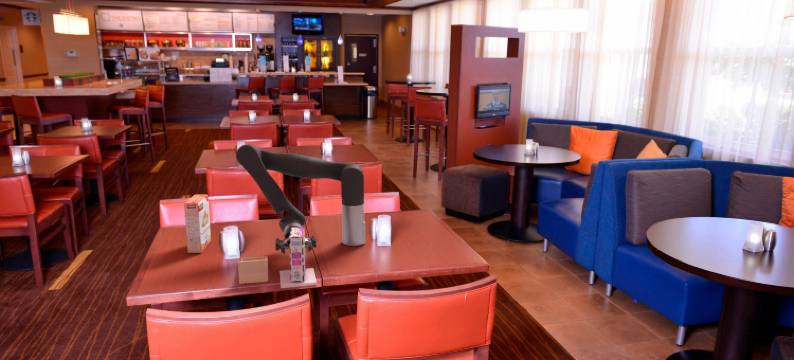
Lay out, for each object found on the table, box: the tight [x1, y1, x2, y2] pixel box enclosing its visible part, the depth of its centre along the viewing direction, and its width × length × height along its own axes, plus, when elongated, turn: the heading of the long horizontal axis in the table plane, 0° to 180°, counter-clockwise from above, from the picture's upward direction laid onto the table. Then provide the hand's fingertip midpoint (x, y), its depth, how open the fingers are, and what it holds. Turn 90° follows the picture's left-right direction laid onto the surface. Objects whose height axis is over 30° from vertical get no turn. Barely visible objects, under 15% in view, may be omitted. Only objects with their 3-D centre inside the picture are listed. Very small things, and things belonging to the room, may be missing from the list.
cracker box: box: [183, 194, 212, 254], centre depth 216 cm, size 14×6×21 cm, turn 3°
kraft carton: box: [237, 255, 269, 285], centre depth 193 cm, size 10×19×8 cm, turn 14°
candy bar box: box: [289, 226, 307, 282], centre depth 186 cm, size 11×5×16 cm, turn 7°
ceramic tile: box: [279, 267, 318, 289], centre depth 188 cm, size 12×13×1 cm
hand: (296, 250), depth 184 cm, fingers open, 8 cm apart
